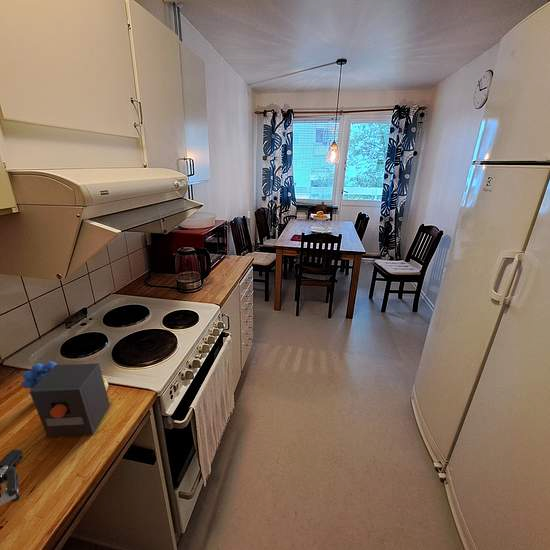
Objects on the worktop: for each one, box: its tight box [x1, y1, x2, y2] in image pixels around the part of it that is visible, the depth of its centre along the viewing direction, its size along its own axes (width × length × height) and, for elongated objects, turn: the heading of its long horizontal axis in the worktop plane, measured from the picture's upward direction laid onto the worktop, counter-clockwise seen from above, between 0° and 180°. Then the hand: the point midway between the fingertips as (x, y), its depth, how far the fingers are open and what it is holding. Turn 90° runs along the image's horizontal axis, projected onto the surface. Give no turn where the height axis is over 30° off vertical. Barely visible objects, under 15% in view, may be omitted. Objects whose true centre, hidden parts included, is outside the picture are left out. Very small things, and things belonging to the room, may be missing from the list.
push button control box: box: [29, 363, 111, 438], centre depth 80 cm, size 12×10×16 cm
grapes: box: [21, 361, 58, 391], centre depth 90 cm, size 12×7×12 cm, turn 132°
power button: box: [50, 404, 67, 418], centre depth 74 cm, size 3×2×3 cm, turn 94°
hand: (18, 452), depth 61 cm, fingers closed
